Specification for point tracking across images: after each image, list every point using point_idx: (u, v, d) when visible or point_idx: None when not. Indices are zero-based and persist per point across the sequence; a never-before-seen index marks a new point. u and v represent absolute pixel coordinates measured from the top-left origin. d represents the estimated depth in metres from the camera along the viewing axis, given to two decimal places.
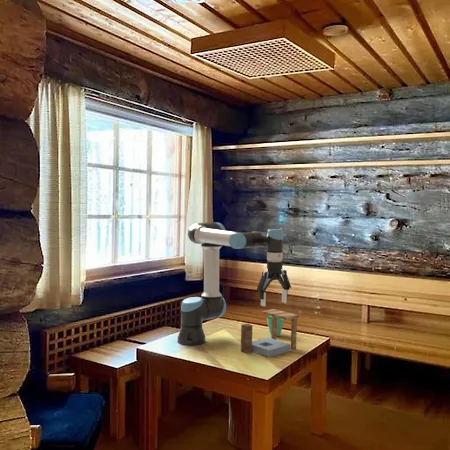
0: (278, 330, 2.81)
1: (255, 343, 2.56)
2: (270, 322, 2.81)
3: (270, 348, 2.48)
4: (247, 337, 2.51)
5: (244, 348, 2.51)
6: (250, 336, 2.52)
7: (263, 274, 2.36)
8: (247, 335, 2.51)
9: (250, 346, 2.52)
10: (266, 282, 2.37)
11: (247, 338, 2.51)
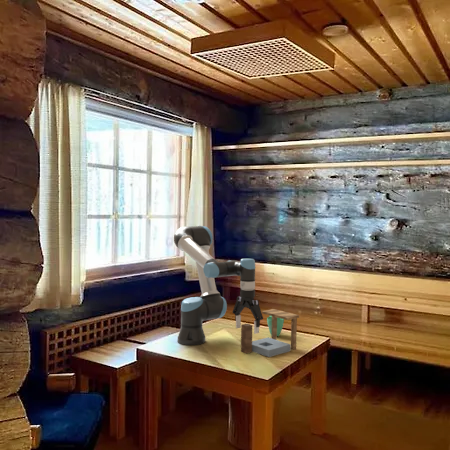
0: (278, 330, 2.81)
1: (255, 343, 2.56)
2: (270, 322, 2.81)
3: (270, 348, 2.48)
4: (247, 337, 2.51)
5: (244, 348, 2.51)
6: (250, 336, 2.52)
7: None
8: (247, 335, 2.51)
9: (250, 346, 2.52)
10: None
11: (247, 338, 2.51)
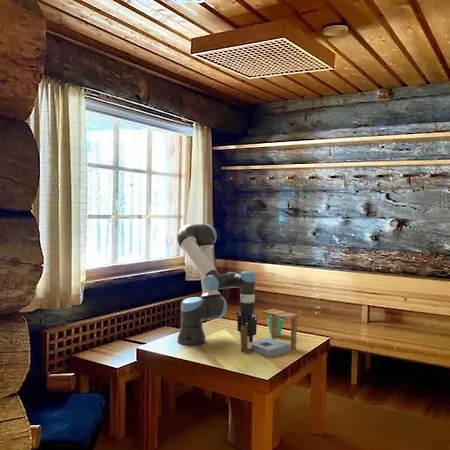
0: (278, 330, 2.81)
1: (255, 343, 2.56)
2: (270, 322, 2.81)
3: (270, 348, 2.48)
4: None
5: (244, 348, 2.51)
6: None
7: None
8: (247, 335, 2.51)
9: None
10: None
11: None
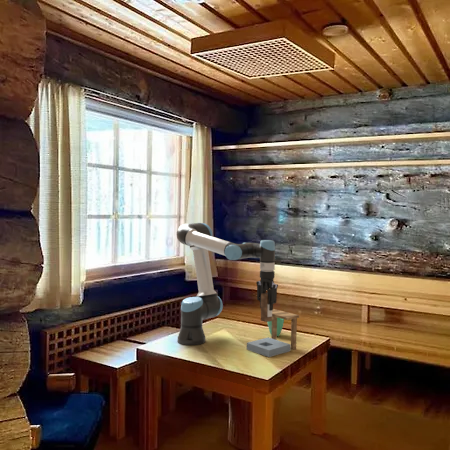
0: (278, 330, 2.81)
1: (255, 343, 2.56)
2: (270, 322, 2.81)
3: (270, 348, 2.48)
4: (267, 305, 2.52)
5: (264, 317, 2.52)
6: None
7: None
8: (267, 303, 2.52)
9: None
10: None
11: (267, 307, 2.52)
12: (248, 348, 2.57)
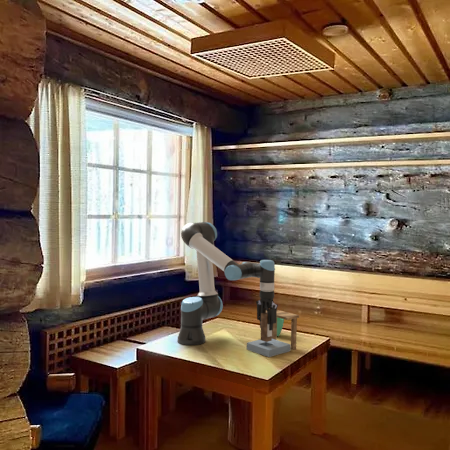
0: (278, 330, 2.81)
1: (255, 343, 2.56)
2: None
3: (270, 348, 2.48)
4: None
5: (264, 337, 2.53)
6: None
7: None
8: (267, 323, 2.52)
9: None
10: None
11: None
12: (248, 348, 2.57)
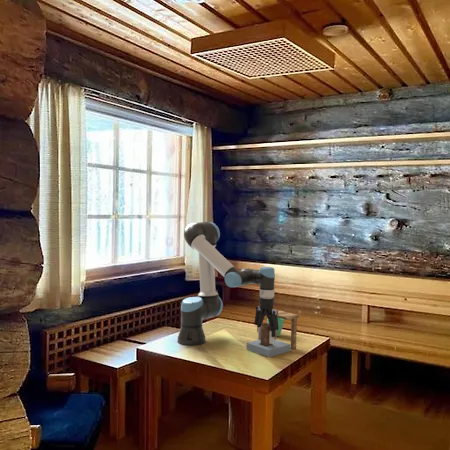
0: (278, 330, 2.81)
1: (255, 343, 2.56)
2: None
3: (270, 348, 2.48)
4: (267, 336, 2.52)
5: None
6: None
7: None
8: (267, 334, 2.53)
9: (269, 345, 2.55)
10: None
11: (267, 338, 2.53)
12: (248, 348, 2.57)
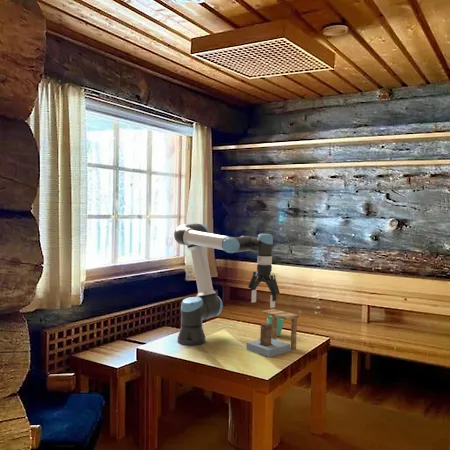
0: (278, 330, 2.81)
1: (255, 343, 2.56)
2: (270, 322, 2.81)
3: (270, 348, 2.48)
4: (266, 336, 2.53)
5: None
6: (269, 335, 2.54)
7: None
8: (267, 334, 2.53)
9: (269, 345, 2.55)
10: None
11: (267, 338, 2.53)
12: (248, 348, 2.57)
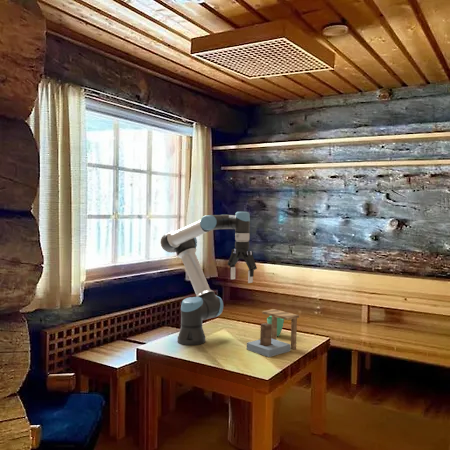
0: (278, 330, 2.81)
1: (255, 343, 2.56)
2: (270, 322, 2.81)
3: (270, 348, 2.48)
4: (266, 336, 2.53)
5: None
6: (269, 335, 2.54)
7: None
8: (267, 334, 2.53)
9: (269, 345, 2.55)
10: None
11: (267, 338, 2.53)
12: (248, 348, 2.57)
